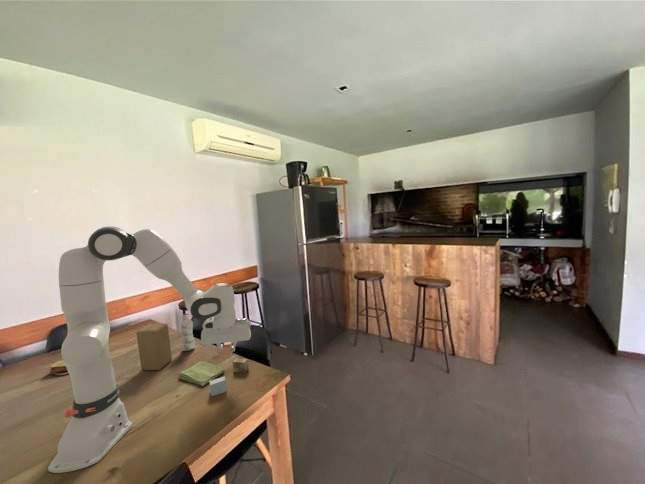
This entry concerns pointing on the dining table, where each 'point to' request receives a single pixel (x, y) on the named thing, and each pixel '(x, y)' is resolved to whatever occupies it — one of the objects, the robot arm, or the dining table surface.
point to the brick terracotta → (227, 350)
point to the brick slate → (218, 386)
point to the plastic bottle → (187, 333)
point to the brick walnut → (240, 365)
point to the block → (154, 346)
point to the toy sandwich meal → (59, 368)
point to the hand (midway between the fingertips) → (227, 351)
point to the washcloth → (201, 373)
